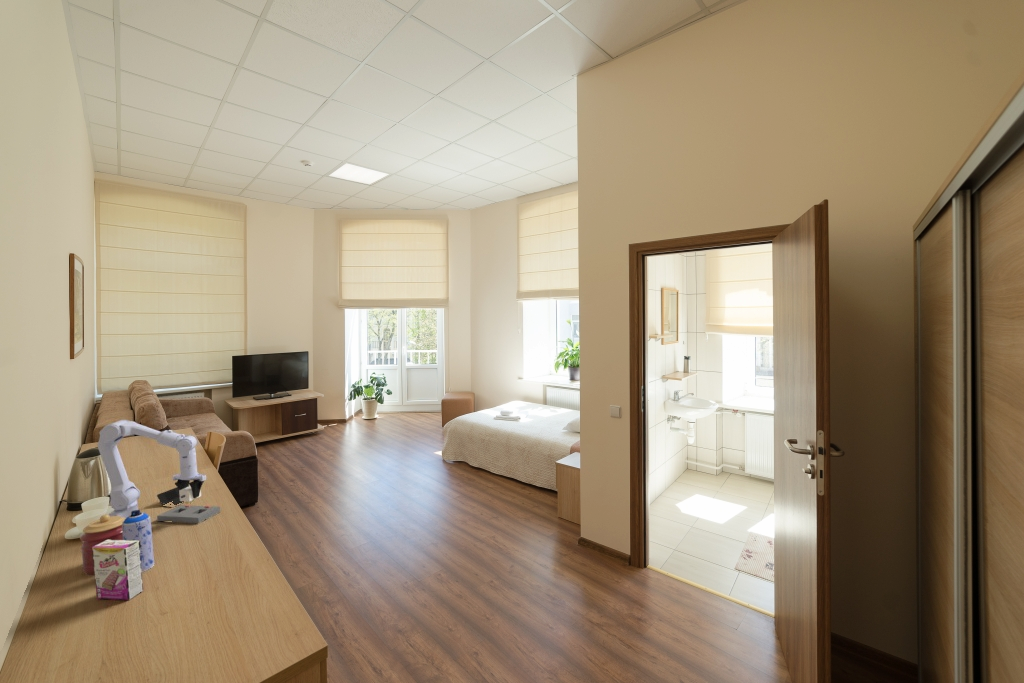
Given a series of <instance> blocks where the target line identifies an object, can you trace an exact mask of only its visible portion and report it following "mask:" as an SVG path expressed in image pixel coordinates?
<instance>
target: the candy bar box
mask: <svg viewBox="0 0 1024 683" xmlns="http://www.w3.org/2000/svg"><path fill="white" fill-rule="evenodd" d="M92 550H93V561H94V572H95V574H94V580H95V594H96V599H97V600H114V601H116V600H117V601H118V600H119V601H130V600H132V599H133V597H134V598H135V597H136V596H138V595H139V594H141V593H143V592H144V586H143V585H144V584H143V575H142V574H143V572H142V571H141V559H140V546H139V541H137V540H105V541H103V542H101V543H99V544H97V545H95V546H93V547H92ZM140 592H141V593H140ZM137 594H138V595H137Z"/></svg>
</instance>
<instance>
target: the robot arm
mask: <svg viewBox="0 0 1024 683" xmlns="http://www.w3.org/2000/svg"><path fill="white" fill-rule="evenodd" d="M98 434H99V438H98V442H97V449H98V451H99V454H100V457H101V460H102V462H103V466H104V468H105V471H106V474H107V477H108V478H109V482H110V484H111V490H110V493H109V496H110V502H109V505H110V508H112V509H113V511H112V512H110V513H108V515H109V516H110V517H111V516H120V517H124V518H127V517H129V516H130V515H131V511H134V510H139V505H138V499H139V498H140V497H141V491H140V489H139V488H137V487H136V485H135V483H134V482H132V481H130V480H129V476H128V474H127V471H126V468H125V465H124V463H123V459H122V457H121V454H120V450H119V448H118V444H119V443H120V441H121V440H122V439H124V438H125V437H128V436H132V435H136V436H140V437H144V438H148V439H152V440H156V442H157V443H158V444H159V445H162V446H165V447H170V448H173V449H176V450H175V451H177V452H178V457H179V460H178V461H179V468H180V469H179V472H180V473H179V474H178V473H177V474H173V475H172V481H176V482H174V485H175V486H176V487H178V489H179V490H182V489H184V488H186V487H189V486H191V489H192V494H193V498H196V497H198V498H200V497H199V494H200V489H201V490H202V486H203V484H204V482H205V481H206V480H207V474H202V473H201V474H200V472H198V464H197V452H196V446H197V445H198V438H196V437H195V436H194V435H192V434H189V435H186V434H184V433H182V434H181V433H177V432H174V431H173V429H169V430H166V429H165V430H162V431H160V430H157V429H154V428H150V427H148V426H146V425H142V424H140V423H138V422H136V421H134V420H133V421H132V420H128V419H119V420H117V421H115V422H112V423H109V424H106V425H104V426H103V427H102V428H101V429H100V431H99V432H98ZM196 499H197V498H196Z"/></svg>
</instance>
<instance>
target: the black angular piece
mask: <svg viewBox="0 0 1024 683" xmlns="http://www.w3.org/2000/svg"><path fill="white" fill-rule="evenodd" d="M156 497H157V499H158V500H159V502H160V504H161V505H162V506H163V505H165V504H167V503H169V502H172V501H173V502H172V503H173V504H174V505H177V504H179V503H182V502H184V501H180V494H179V489H178V487H177V486H176V487H174V488H171V489H169V490H165V491H164V492H163V491H162V492H161V493H158V494H157V495H156ZM182 504H183V503H182ZM170 505H171V504H170Z"/></svg>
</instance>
